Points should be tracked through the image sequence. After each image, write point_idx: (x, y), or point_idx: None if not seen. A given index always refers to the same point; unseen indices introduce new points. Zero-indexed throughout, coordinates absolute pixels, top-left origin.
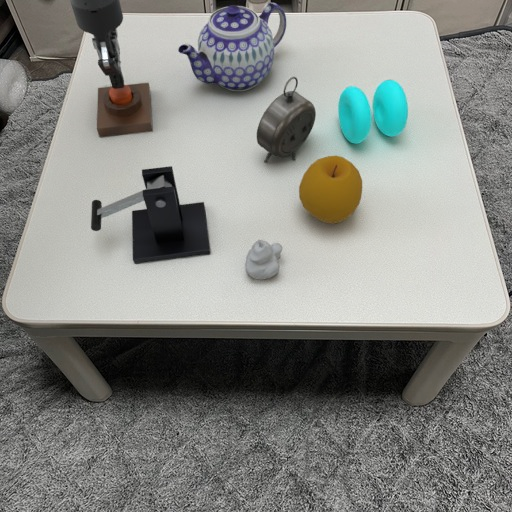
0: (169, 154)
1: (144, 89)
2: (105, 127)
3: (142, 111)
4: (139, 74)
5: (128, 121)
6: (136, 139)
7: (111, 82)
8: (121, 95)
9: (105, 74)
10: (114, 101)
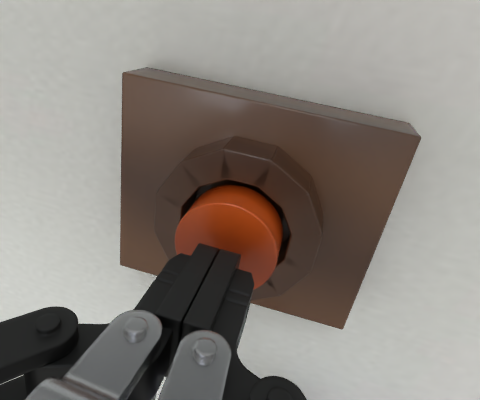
0: (43, 252)
1: (306, 304)
2: (122, 111)
3: None
4: (474, 302)
5: (138, 203)
6: (113, 189)
7: (187, 264)
8: (188, 248)
9: (8, 323)
10: (196, 201)
